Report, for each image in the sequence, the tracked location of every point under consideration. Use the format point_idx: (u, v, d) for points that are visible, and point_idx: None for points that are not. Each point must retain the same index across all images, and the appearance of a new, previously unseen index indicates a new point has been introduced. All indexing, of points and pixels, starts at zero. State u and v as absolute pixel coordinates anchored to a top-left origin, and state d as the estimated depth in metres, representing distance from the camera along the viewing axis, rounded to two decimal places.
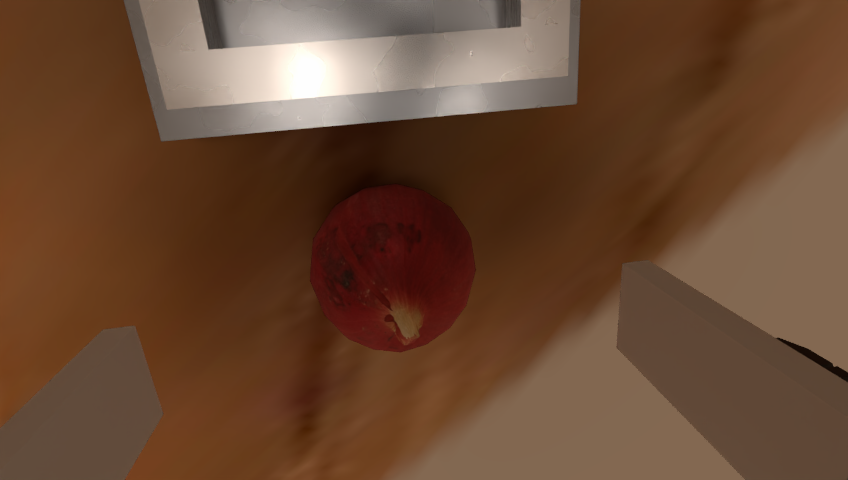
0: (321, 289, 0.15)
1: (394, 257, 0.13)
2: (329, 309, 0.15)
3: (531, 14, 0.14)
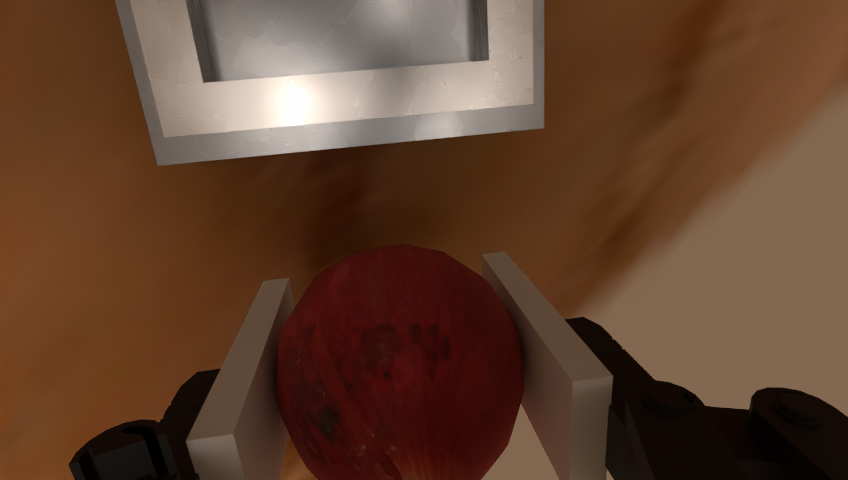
0: (290, 422, 0.09)
1: (406, 389, 0.08)
2: (303, 453, 0.09)
3: (498, 49, 0.15)
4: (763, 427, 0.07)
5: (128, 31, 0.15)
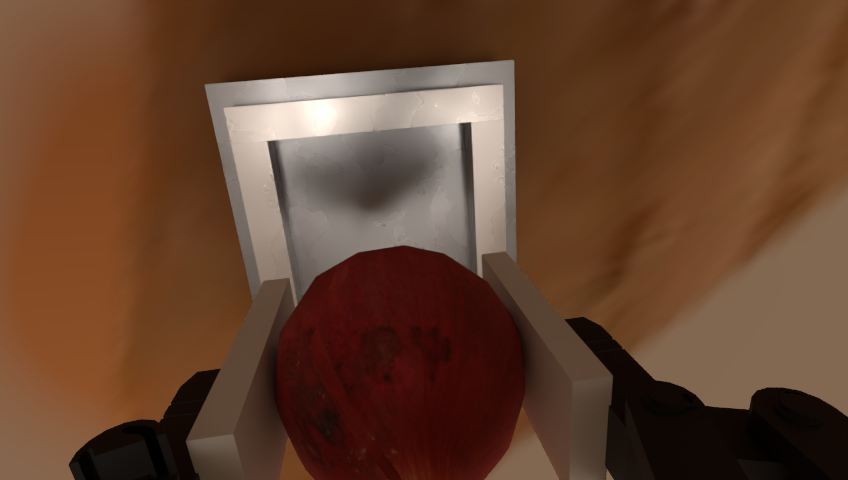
0: (290, 424, 0.09)
1: (407, 392, 0.08)
2: (302, 456, 0.09)
3: None
4: (763, 427, 0.07)
5: (252, 285, 0.24)
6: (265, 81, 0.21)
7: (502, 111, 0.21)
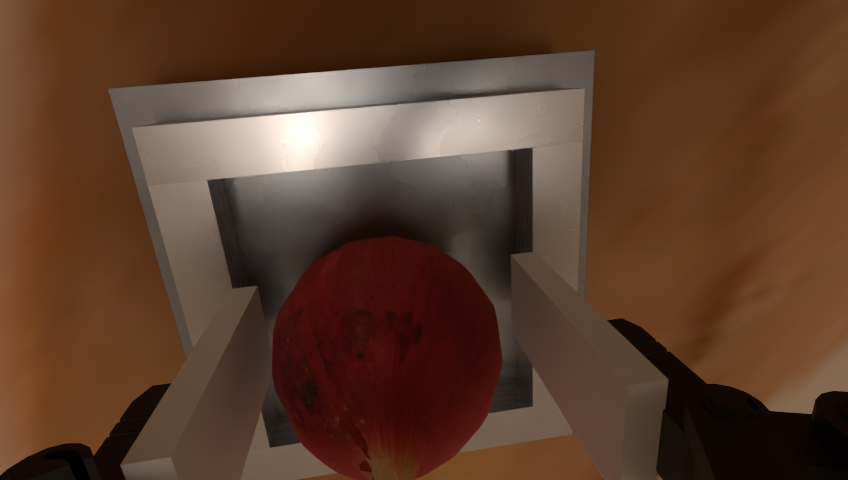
0: (281, 394, 0.10)
1: (378, 369, 0.09)
2: (291, 422, 0.10)
3: (541, 397, 0.16)
4: (827, 430, 0.07)
5: None
6: (207, 83, 0.13)
7: (581, 130, 0.13)
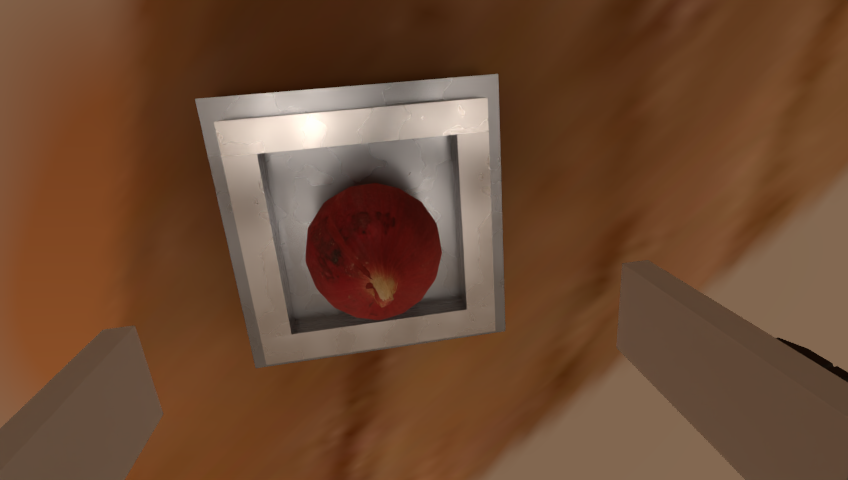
0: (315, 267, 0.18)
1: (373, 238, 0.17)
2: (321, 283, 0.18)
3: (472, 303, 0.24)
4: None
5: (243, 296, 0.24)
6: (255, 95, 0.21)
7: (487, 124, 0.21)
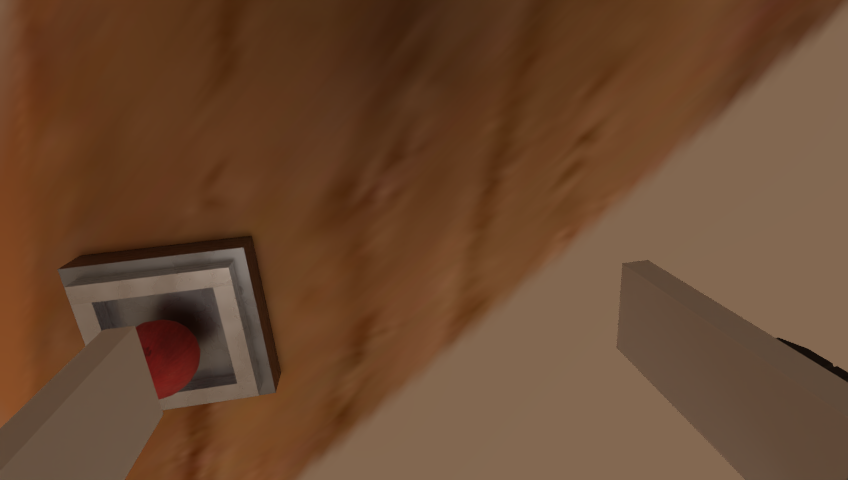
0: None
1: None
2: None
3: (240, 379, 0.39)
4: None
5: None
6: (93, 266, 0.36)
7: (230, 281, 0.36)
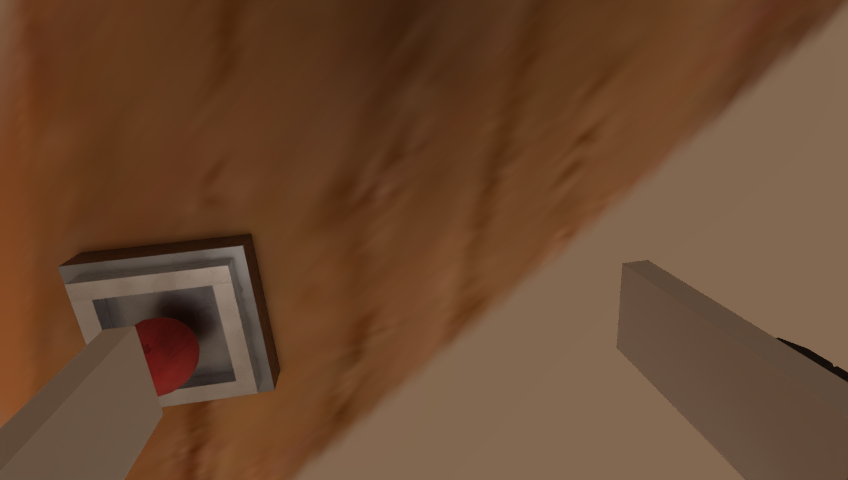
0: None
1: None
2: None
3: (239, 377, 0.39)
4: None
5: None
6: (93, 263, 0.36)
7: (230, 279, 0.37)
